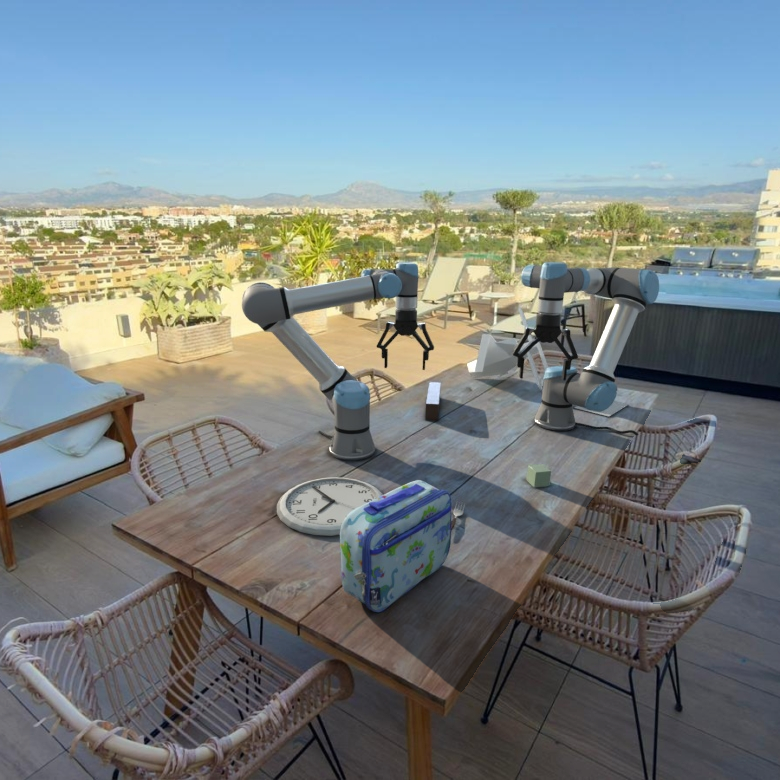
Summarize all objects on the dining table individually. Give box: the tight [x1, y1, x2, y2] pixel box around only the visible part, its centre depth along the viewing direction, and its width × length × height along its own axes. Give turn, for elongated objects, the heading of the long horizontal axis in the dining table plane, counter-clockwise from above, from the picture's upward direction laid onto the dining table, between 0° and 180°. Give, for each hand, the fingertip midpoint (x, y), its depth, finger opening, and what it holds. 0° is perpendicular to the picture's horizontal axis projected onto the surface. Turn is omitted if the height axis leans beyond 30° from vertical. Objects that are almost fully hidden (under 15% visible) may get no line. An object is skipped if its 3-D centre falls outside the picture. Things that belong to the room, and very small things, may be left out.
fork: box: [451, 500, 466, 531], centre depth 135 cm, size 3×16×2 cm, turn 160°
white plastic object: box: [466, 306, 549, 391], centre depth 257 cm, size 37×45×31 cm
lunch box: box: [339, 479, 452, 613], centre depth 109 cm, size 26×11×21 cm, turn 134°
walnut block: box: [424, 381, 442, 422], centre depth 220 cm, size 30×5×7 cm, turn 173°
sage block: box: [526, 463, 552, 489], centre depth 157 cm, size 5×5×5 cm
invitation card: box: [573, 401, 629, 418], centre depth 226 cm, size 21×1×15 cm
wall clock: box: [276, 476, 385, 537], centre depth 142 cm, size 30×2×30 cm
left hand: (404, 368), depth 187 cm, fingers open, 13 cm apart
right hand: (542, 378), depth 170 cm, fingers open, 13 cm apart
